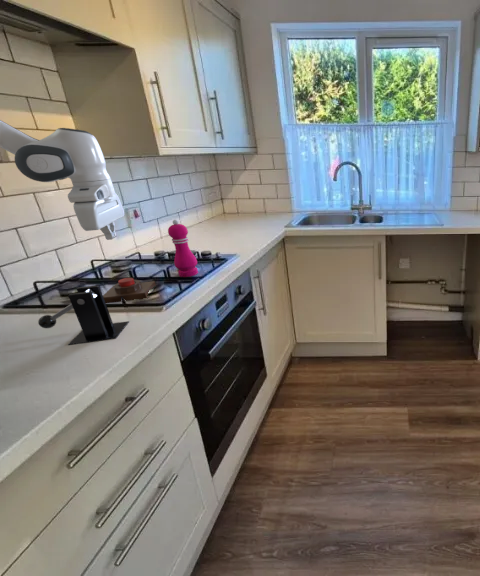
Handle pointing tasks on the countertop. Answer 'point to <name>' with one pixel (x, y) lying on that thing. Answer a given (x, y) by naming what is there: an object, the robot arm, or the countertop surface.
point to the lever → (56, 315)
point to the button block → (128, 292)
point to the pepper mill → (182, 250)
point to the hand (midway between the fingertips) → (111, 238)
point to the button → (126, 282)
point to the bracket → (93, 317)
